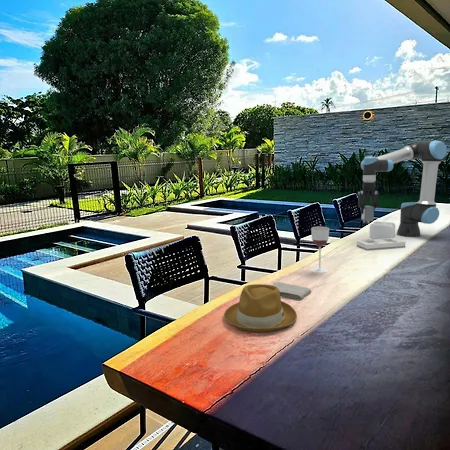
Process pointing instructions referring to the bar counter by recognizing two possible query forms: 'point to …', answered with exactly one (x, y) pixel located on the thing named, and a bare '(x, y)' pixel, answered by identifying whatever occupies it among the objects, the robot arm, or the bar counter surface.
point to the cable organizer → (382, 230)
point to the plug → (368, 214)
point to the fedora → (260, 309)
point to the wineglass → (320, 243)
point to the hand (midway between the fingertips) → (367, 218)
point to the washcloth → (292, 290)
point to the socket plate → (380, 244)
